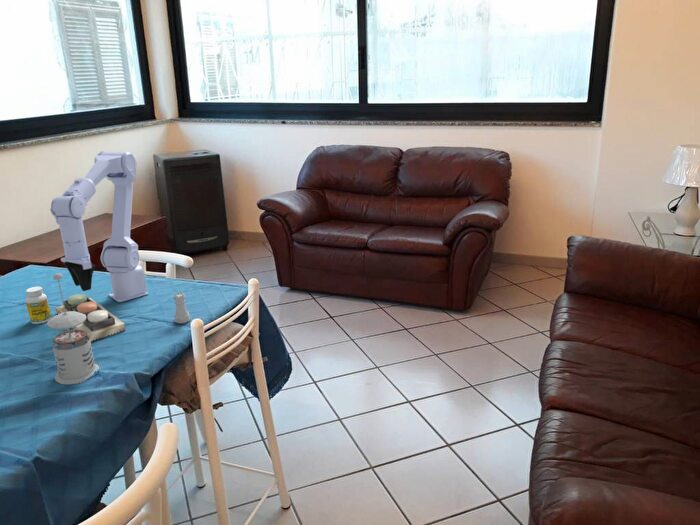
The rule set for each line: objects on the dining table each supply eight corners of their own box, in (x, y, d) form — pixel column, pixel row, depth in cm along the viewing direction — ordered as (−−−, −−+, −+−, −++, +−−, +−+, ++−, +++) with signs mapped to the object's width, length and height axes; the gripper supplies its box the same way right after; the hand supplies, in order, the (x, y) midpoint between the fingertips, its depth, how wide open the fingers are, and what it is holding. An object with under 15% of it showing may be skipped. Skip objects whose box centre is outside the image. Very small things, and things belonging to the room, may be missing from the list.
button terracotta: (93, 306, 164) (92, 300, 163) (100, 311, 160) (99, 305, 159) (75, 312, 160) (74, 305, 160) (81, 317, 157) (80, 310, 156)
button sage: (83, 298, 169) (82, 292, 168) (90, 303, 166) (88, 297, 165) (66, 303, 166) (64, 297, 165) (72, 308, 162) (70, 302, 162)
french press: (53, 388, 129) (30, 284, 120) (55, 364, 139) (34, 267, 130) (100, 378, 132) (81, 277, 124) (99, 356, 142) (81, 260, 134)
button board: (91, 303, 173) (89, 292, 172) (125, 330, 156) (123, 317, 154) (56, 313, 167) (54, 301, 165) (87, 342, 149) (85, 329, 148)
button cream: (104, 315, 158) (103, 308, 157) (111, 320, 154) (110, 313, 154) (85, 320, 155) (84, 314, 154) (92, 326, 151) (91, 319, 151)
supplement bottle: (50, 314, 166) (43, 284, 163) (53, 321, 162) (46, 289, 159) (29, 319, 164) (22, 288, 160) (31, 326, 159) (24, 294, 156)
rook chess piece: (194, 318, 162) (191, 292, 159) (183, 325, 158) (180, 298, 155) (181, 316, 163) (178, 290, 161) (170, 322, 160) (167, 296, 157)
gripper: (49, 237, 156) (59, 284, 160) (67, 249, 146) (77, 298, 150) (76, 232, 160) (85, 277, 165) (95, 243, 150) (104, 291, 155)
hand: (83, 287), depth 158 cm, fingers open, 5 cm apart
